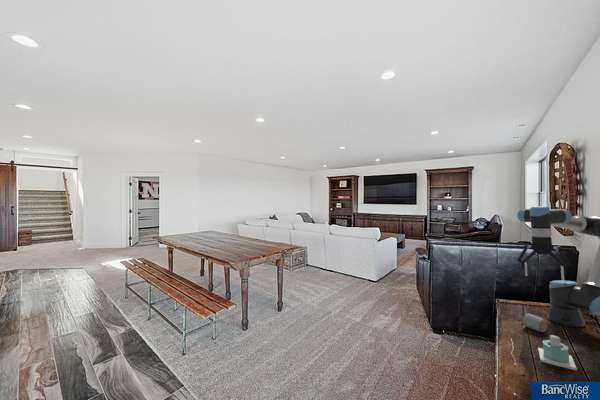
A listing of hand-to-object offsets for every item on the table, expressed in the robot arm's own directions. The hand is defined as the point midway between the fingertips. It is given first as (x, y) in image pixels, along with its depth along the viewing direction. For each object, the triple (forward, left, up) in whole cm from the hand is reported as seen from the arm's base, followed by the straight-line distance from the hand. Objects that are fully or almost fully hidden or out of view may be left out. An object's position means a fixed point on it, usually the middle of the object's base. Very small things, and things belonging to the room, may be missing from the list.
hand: (544, 277), depth 131 cm
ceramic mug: (-4, -10, -32) cm, 34 cm away
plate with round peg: (+13, +16, -32) cm, 38 cm away
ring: (+13, +16, -30) cm, 36 cm away
